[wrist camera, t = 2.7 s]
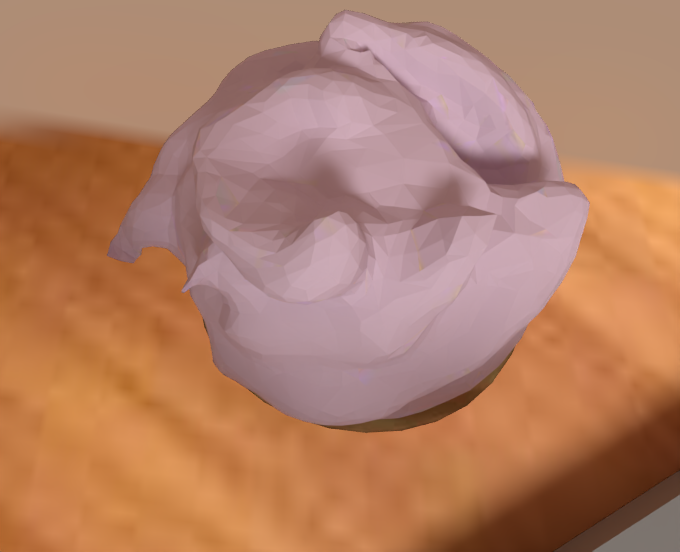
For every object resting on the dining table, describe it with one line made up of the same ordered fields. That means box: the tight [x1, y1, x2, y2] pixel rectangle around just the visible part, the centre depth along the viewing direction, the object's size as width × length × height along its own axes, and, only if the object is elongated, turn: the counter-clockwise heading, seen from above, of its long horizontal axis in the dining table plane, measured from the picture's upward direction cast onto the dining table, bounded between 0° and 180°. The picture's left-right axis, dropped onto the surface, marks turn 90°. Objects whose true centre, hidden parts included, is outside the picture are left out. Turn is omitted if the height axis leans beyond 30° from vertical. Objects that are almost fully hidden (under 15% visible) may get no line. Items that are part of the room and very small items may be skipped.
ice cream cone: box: [107, 10, 590, 433], centre depth 14 cm, size 7×6×15 cm
